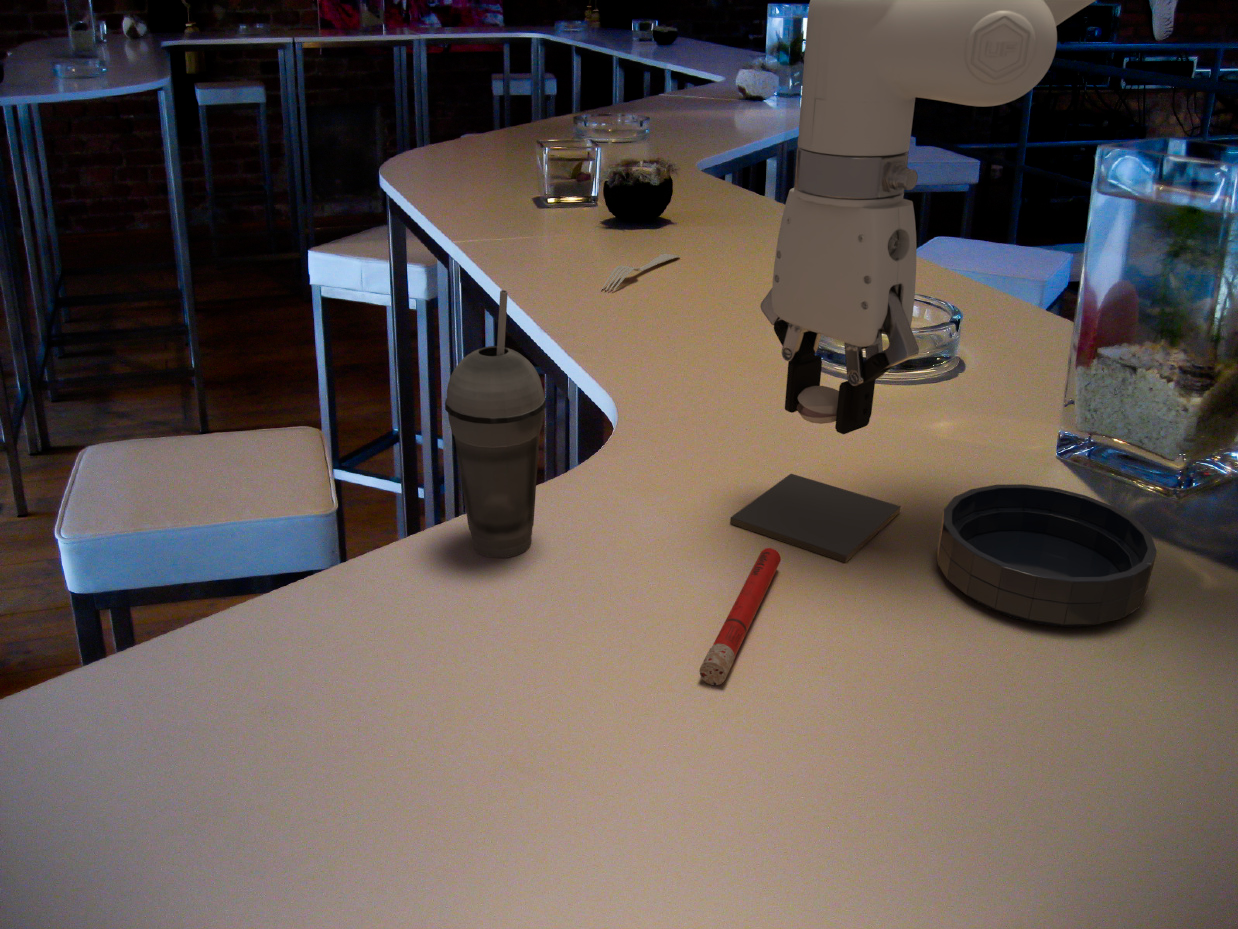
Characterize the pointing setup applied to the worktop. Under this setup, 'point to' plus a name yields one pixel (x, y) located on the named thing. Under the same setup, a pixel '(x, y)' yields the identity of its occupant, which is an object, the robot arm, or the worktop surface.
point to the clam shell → (818, 404)
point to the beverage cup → (497, 442)
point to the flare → (739, 619)
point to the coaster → (816, 517)
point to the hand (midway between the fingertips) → (826, 415)
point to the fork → (635, 269)
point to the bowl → (1045, 554)
